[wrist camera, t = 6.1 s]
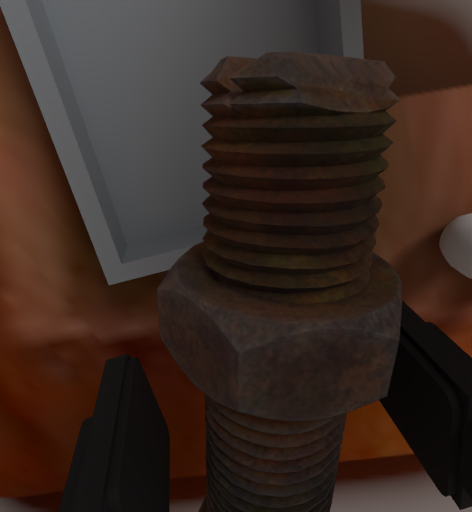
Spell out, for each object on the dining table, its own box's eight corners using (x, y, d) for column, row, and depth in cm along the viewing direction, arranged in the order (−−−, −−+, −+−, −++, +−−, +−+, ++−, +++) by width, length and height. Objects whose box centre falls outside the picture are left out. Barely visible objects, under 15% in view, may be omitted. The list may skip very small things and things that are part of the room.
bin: (301, -260, 16) (340, -363, 13) (342, 200, 25) (372, 217, 21) (-52, -207, 15) (-121, -304, 12) (117, 257, 24) (108, 285, 20)
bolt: (281, 75, 10) (257, 484, 15) (79, 60, 7) (143, 572, 12) (568, 62, 5) (388, 629, 11) (368, 3, 2) (263, 815, 8)
